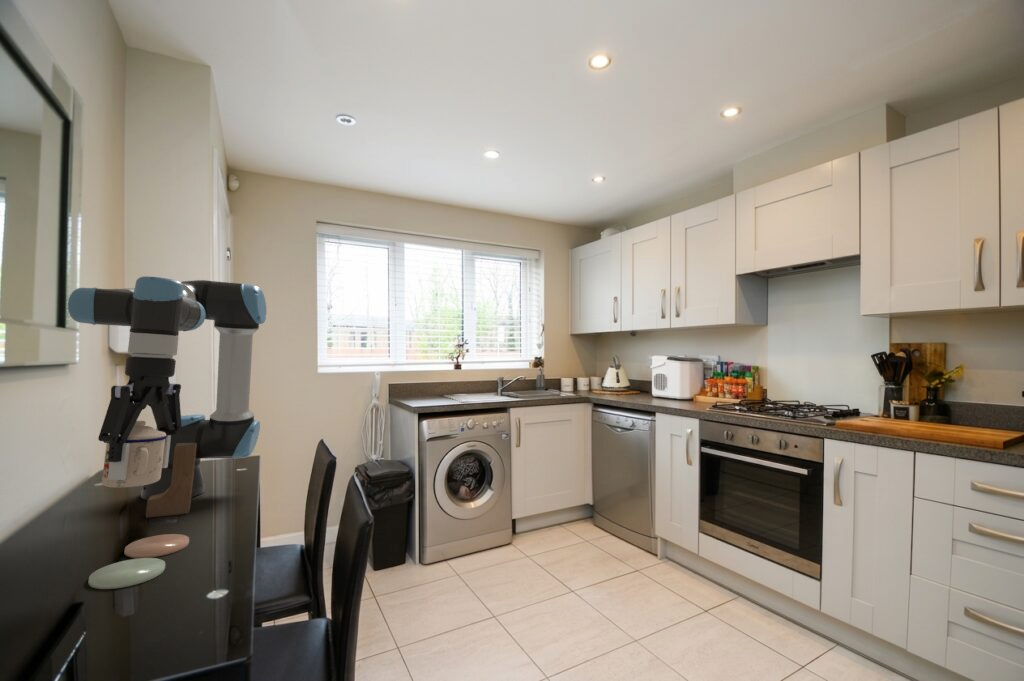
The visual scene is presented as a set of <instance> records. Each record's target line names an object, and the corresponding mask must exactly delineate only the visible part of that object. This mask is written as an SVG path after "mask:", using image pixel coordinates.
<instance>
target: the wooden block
mask: <svg viewBox="0 0 1024 681" xmlns="http://www.w3.org/2000/svg"><path fill="white" fill-rule="evenodd" d="M196 446H197V444H196V443H178V444H177V445H176V446H175V450H174V460H173V469H172V479H171V485H170V487H169V489H167V490H166V491H165V492H164V493H161V494H157V495H152V496H150V498H149V499H148V500H146V501H147V502H146V510H145V518H146V519H150V518H159V517H168V516H169V517H170V516H177V515H187V514H189V513H190V510H191V504H192V497H191V495H192V485H193V476H194V466H195V456H196Z"/></svg>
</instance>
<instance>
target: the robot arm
mask: <svg viewBox="0 0 1024 681" xmlns="http://www.w3.org/2000/svg"><path fill="white" fill-rule="evenodd" d="M67 310H68V313H69V316H70V317H71V318H72V319H73V321H75V322H77V323H80V324H90V325H92V326H93V325H94V326H96V325H104V326H119V327H121V326H122V327H130V329H129V336H128V346H127V347H128V348H127V353H128V354H131V356H128V357H127V358H126V360H125V361H126V362H125V367H124V368H125V369H124V374H125V376H128V377H129V378H128V382H126V384H125V385H112V386H111V388H110V399H109V400H110V401H109V403H108V407H107V410H106V413H105V416H104V419H103V423H102V426H101V429H100V431H99V435H98V438H97V439H98V441H99V442H103V443H104V444H107V443H109V454H108V461H109V462H110V463H109V471H108V479H110V480H125V479H126V475H127V466H128V457H129V448H130V443H125V442H126V440H127V438H128V436H129V434H130V433H131V431H132V429H133V427H134V425H135V423H136V421H138V418H139V417H140V415H141V412H142V411H143V410H146V408H147V407H148V406H149V407H150V409H151V412H152V415H153V418H154V421H155V424H156V428H155V430H158V431H162V432H165V433H166V436H167V438H166V439H165V444H164V453H163V462H162V470H161V478H160V480H159V481H157V482H155V483H152V484H148V485H142V487H141V493H140V498H141V499H142V500H144V501H148V499H149V498H150V496H152V495H157V494H161V493H164V492H165V491H166V490H167V489H169V487H170V485H171V479H172V469H173V460H174V450H175V446H176V445H177V444H178V443H196V444H197V446H196V456H195V466H194V476H193V485H192V495H191V498H193V497H196V496H199V495H201V494H203V493H204V492H205V486H206V484H205V481H204V477H203V472H202V468H201V459H228V460H229V459H232V460H234V459H245V458H248V457H249V456H251V455H252V454H253V452H254V450H255V447H256V445H257V442H258V438H259V435H260V434H259V433H260V430H261V425H260V424H261V422H260V421H259V420H256V419H255V414H254V412H253V411H251V410H250V409H249V408H250V395H251V394H250V391H251V374H252V372H251V371H252V357H253V356H252V354H253V336H254V334H255V333H256V332H257V331H258V330H259V329H260V327H259V326H260V325H262V324H265V322H266V318H267V317H266V316H267V303H266V296H265V295H264V292H263V290H262V289H261V287H259V286H257V285H253V284H247V283H244V282H243V283H237V282H225V281H218V280H217V281H216V280H215V281H212V280H205V279H201V280H200V279H197V280H196V279H195V280H185V281H178V280H176V279H171V278H166V277H159V276H148V275H147V276H140V277H139V278H137V279H136V282H135V285H134V287H130V288H129V287H128V288H111V289H110V288H98V287H78V288H75V289H74V290H73V291H72V292H71V293H70V295H69V297H68V301H67ZM205 320H209V321H213V324H214V325H213V328H215V330H217V331H218V332H219V345H218V362H217V363H218V364H217V365H218V366H217V385H216V386H217V387H216V403H215V404H216V409H215V411H213V412H212V413H211V414H210V415H209V419H206V415H205V414H189V415H182V413H181V412H182V411H181V399H180V394H181V389H182V384H181V383H170V379H169V378H171V377H174V376H175V373H176V372H175V371H176V365H177V364H176V363H177V361H176V360H175V358H173V357H174V356H177V355H178V345H179V333H180V332H181V331H182V332H191V331H195V330H196V329H199V328H200V327H201V326H202V325H203V324H204V322H205ZM109 434H110V435H109ZM119 434H120V436H119Z"/></svg>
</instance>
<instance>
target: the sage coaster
mask: <svg viewBox="0 0 1024 681" xmlns="http://www.w3.org/2000/svg"><path fill="white" fill-rule="evenodd" d="M165 569H166V562H165V560H163V559H161V558H157V557H151V558H131V559H126V560H122V561H118V562H114V563H110V564H108V565H105V566H103V567H101V568H98V569H97V570H95V571H93V572H92V573H91V574H90V575H89V577H88V586H89V587H91V588H94V589H97V590H98V589H99V590H113V589H121V588H127V587H133V586H136V585H139V584H142V583H145V582H148V581H151V580H152V579H153V580H154V579H155V578H156V577H158V576H160V575H161V574H163V572H164V571H165Z"/></svg>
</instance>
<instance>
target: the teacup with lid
mask: <svg viewBox="0 0 1024 681" xmlns="http://www.w3.org/2000/svg"><path fill="white" fill-rule="evenodd" d="M146 424H147V423H146V421H145V420H137V421H136V423H135V425H134V427H133V429H132V431H131V433H130V434H129V436H128V438H127V440H126V442H125V443H130V448H129V457H128V466H127V475H126V479H125V480H110V479H108V471H109V463H110V462H109V461H108V454H109V443H105V444H106V446H105V447H106V448H105V452H104V454H105V455H104V462H103V471H102V476H101V477H102V478H101V484H102V485H103V486H105V487H107V488H135V487H143V486H144V485H148V484H152V483H155V482H157V481H159V480H160V478H161V470H162V462H163V453H164V444H165V439H166V438H167V436H166V433H165V432H162V431H158V430H156V428H154V427H152V426H149V425H146ZM108 435H110V434H108ZM119 436H120V434H119Z"/></svg>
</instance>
